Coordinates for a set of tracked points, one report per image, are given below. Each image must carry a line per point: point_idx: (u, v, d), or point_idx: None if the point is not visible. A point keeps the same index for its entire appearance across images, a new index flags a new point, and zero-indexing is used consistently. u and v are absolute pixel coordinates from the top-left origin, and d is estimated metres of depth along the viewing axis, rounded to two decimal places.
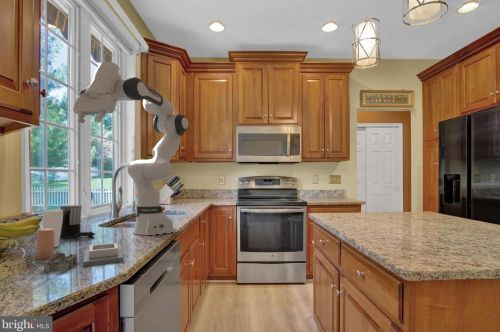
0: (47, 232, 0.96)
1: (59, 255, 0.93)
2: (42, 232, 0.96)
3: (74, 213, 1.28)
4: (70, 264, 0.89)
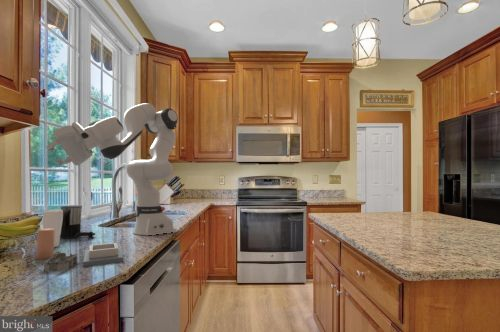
0: (47, 232, 0.96)
1: (60, 255, 0.93)
2: (42, 232, 0.96)
3: (74, 213, 1.28)
4: (70, 264, 0.89)
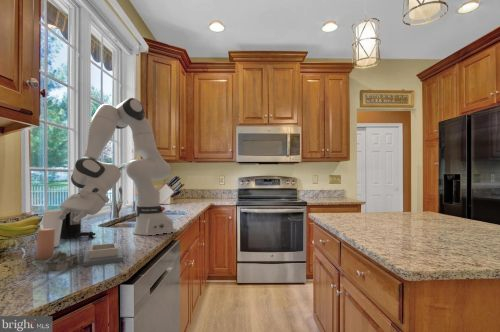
0: (47, 232, 0.96)
1: (60, 255, 0.93)
2: (42, 232, 0.96)
3: (75, 213, 1.28)
4: (69, 264, 0.89)
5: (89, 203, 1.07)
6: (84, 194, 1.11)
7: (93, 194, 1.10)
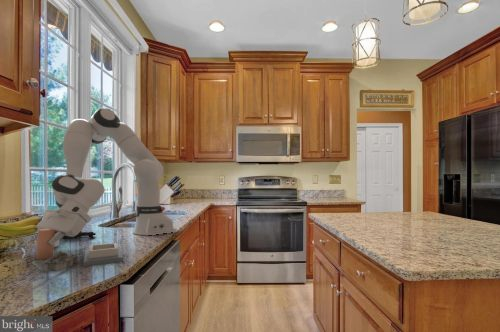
0: (47, 232, 0.96)
1: (61, 255, 0.94)
2: (42, 232, 0.96)
3: None
4: (69, 264, 0.89)
5: (69, 224, 0.99)
6: (63, 213, 1.03)
7: (73, 214, 1.01)
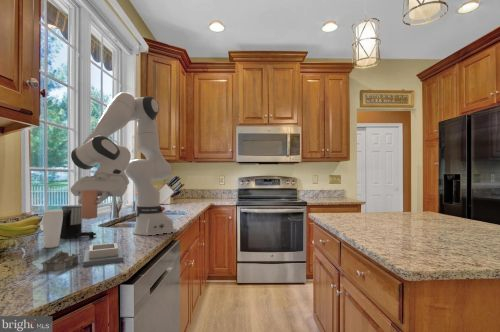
0: (94, 192, 0.97)
1: (62, 254, 0.94)
2: (89, 191, 0.96)
3: (75, 213, 1.28)
4: (69, 264, 0.89)
5: (114, 184, 1.01)
6: (102, 176, 1.04)
7: (115, 175, 1.04)
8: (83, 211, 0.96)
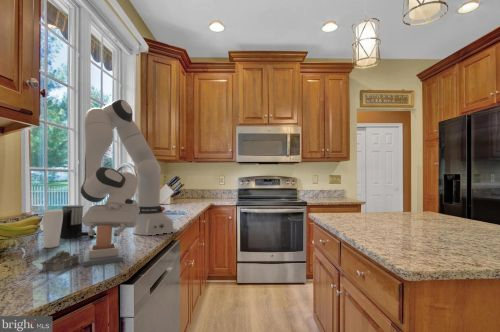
0: (109, 228, 0.99)
1: (64, 254, 0.94)
2: (105, 228, 0.97)
3: (76, 213, 1.29)
4: (68, 265, 0.89)
5: (128, 215, 1.03)
6: (114, 206, 1.05)
7: (128, 206, 1.05)
8: (98, 248, 0.97)
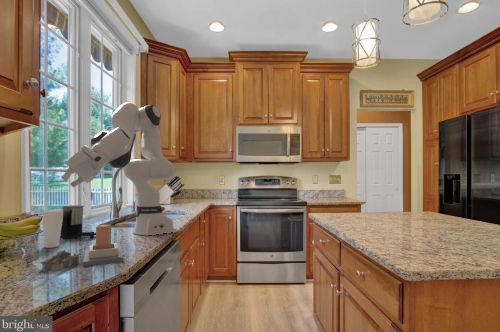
0: (108, 228, 0.98)
1: (65, 254, 0.94)
2: (104, 228, 0.97)
3: (76, 213, 1.29)
4: (68, 265, 0.89)
5: None
6: None
7: None
8: (98, 248, 0.97)
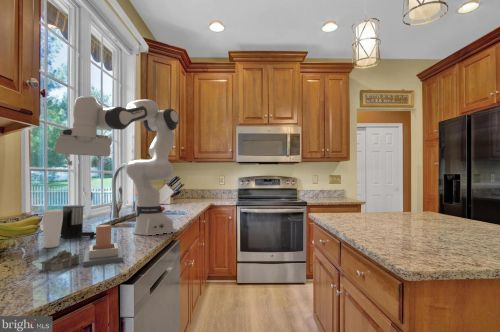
0: (109, 228, 0.98)
1: (65, 254, 0.94)
2: (105, 228, 0.97)
3: (76, 213, 1.29)
4: (67, 265, 0.89)
5: None
6: None
7: None
8: (98, 248, 0.97)
